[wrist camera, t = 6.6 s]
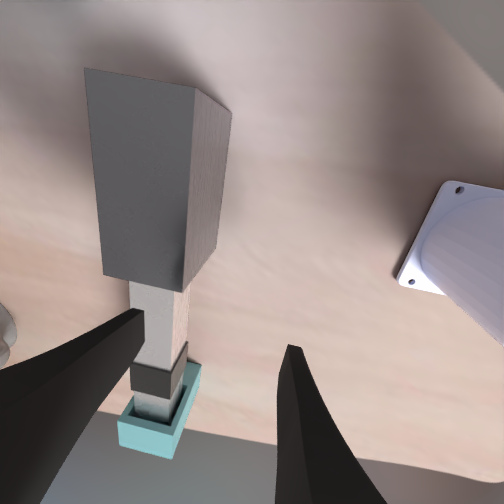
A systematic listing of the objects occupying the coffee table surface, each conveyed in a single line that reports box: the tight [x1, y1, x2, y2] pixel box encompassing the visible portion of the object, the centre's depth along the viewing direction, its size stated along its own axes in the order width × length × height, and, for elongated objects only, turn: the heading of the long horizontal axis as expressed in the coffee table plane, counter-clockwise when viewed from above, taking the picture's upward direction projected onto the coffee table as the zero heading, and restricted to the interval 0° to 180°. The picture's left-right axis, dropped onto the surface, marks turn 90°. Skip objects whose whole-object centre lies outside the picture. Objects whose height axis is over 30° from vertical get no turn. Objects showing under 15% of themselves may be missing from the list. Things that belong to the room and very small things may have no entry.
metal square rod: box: [129, 281, 191, 427], centre depth 18 cm, size 3×20×3 cm, turn 170°
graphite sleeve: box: [84, 68, 232, 293], centre depth 15 cm, size 5×10×7 cm, turn 170°
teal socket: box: [117, 362, 201, 459], centre depth 23 cm, size 5×4×7 cm
